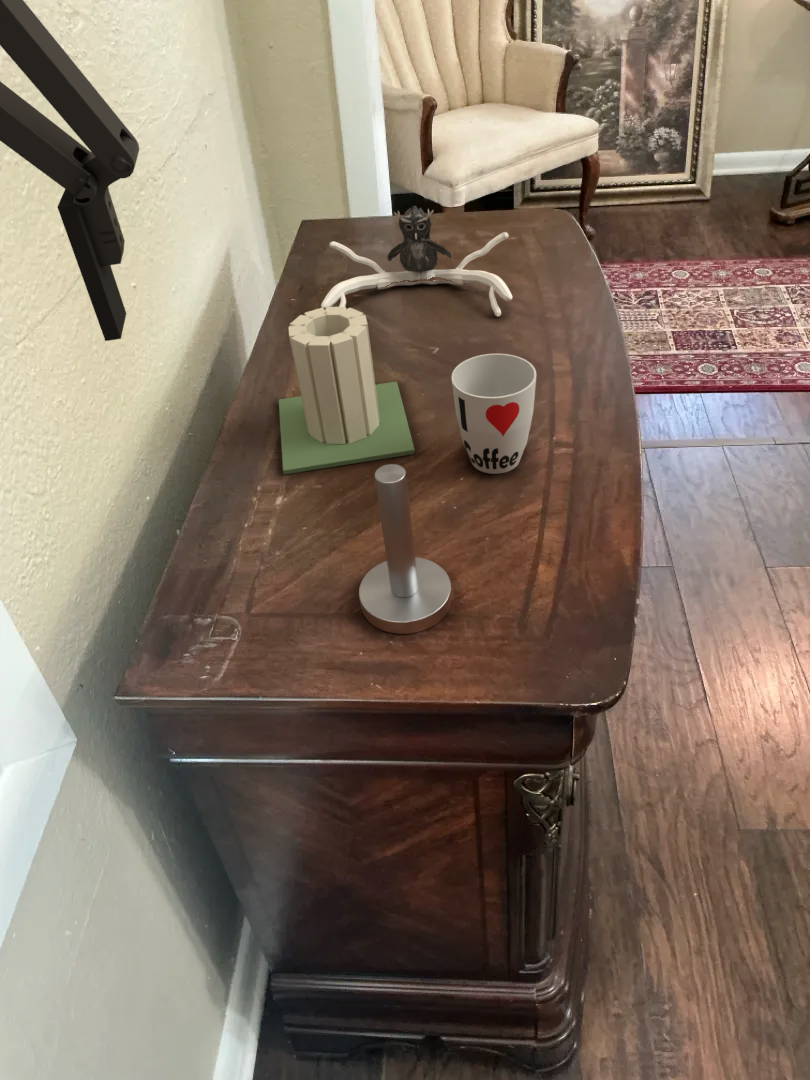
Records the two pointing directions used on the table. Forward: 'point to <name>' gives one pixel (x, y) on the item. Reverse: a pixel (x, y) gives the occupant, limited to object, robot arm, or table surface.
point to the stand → (402, 567)
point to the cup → (494, 409)
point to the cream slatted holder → (335, 374)
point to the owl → (419, 264)
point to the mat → (314, 454)
